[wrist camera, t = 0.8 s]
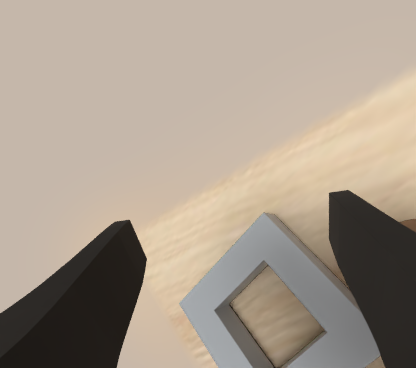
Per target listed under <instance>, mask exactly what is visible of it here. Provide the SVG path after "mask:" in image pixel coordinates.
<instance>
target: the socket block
mask: <svg viewBox="0 0 416 368" xmlns="http://www.w3.org/2000/svg"><path fill="white" fill-rule="evenodd" d="M267 265H269V266H270V267H271V268H272V270H273V271H274V272H275V273H276V274H277V275H278V277H279V278H280V279H281V280H282V281H283V282H284V283H285V285H286V286H287V287H288V288H289V289H290V290H291V291H292V293H293V294H294V295H295V296H296V297H297V298H298V300H299V301H300V302H301V303H302V304H303V305H304V306H305V308H306V309H307V310H308V311H309V312H310V313H311V314H312V316H313V317H314V318H315V319H316V320H317V321H318V323H319V324H320V325H321V326H322V327H323V328H324V329H325V331H323V332H322V333H321V334H320V335H319V336H317V337H316V338H315V339H314V340H313V341H312V342H310V343H309V344H308V345H307V346H306V347H305V348H303V349H302V350H301V351H300V352H299V353H297V354H296V355H295V356H294V357H293V358H292V359H290V360H289V361H288V362H287V363H286V364H285V365H283V366H282V367H281V368H365V367H366V366H367V365H369V364H370V363H371V362H373V361H374V360H375V359H377V358H378V357H379V356H380V352H379V350H378V347H377V344H376V342H375V340H374V338H373V335H372V333H371V331H370V329H369V327H368V325H367V323H366V321H365V319H364V317H363V315H362V313H361V311H360V309H359V307H358V305H357V303H356V301H355V299H354V297H353V295H352V293H351V291H350V290H349V289H348V288H347V287H346V286H345V285H344V284H343V283H342V282H341V281H340V280H339V279H338V278H337V277H336V276H335V275H334V274H333V273H332V272H331V271H330V270H329V269H328V268H327V267H326V266H325V265H324V264H323V263H322V262H321V261H320V260H319V259H318V258H317V257H316V256H315V255H314V254H313V253H312V252H311V251H310V250H309V249H308V248H307V247H306V246H305V245H304V244H303V243H302V242H301V241H300V240H299V239H298V238H297V237H296V236H295V235H294V234H293V233H292V232H291V231H290V230H289V229H288V228H287V227H286V226H285V225H284V224H283V223H282V222H281V221H280V220H279V219H278V218H277V217H276V216H275V215H273V214H269V213H263V214H262V215H261V216H260V217H259V218H258V219H257V220H256V221H255V222H254V223H253V224H252V225H251V227H250V228H249V229H248V230H247V231H246V232H245V233H244V234H243V235H242V236H241V237H240V238H239V239H238V241H237V242H236V243H235V244H234V245H233V246H232V247H231V248H230V249H229V250H228V251H227V252H226V253H225V255H224V256H223V257H222V258H221V259H220V260H219V261H218V262H217V263H216V264H215V265H214V266H213V267H212V269H211V270H210V271H209V272H208V273H207V274H206V275H205V276H204V277H203V278H202V279H201V280H200V281H199V283H198V284H197V285H196V286H195V287H194V288H193V289H192V290H191V291H190V292H189V293H188V294H187V296H186V297H185V298H184V299H183V300H182V301H181V302H180V303H179V304H180V306H181V308H182V309H183V311H184V312H185V314H186V316H187V317H188V319H189V321H190V322H191V324H192V325H193V327H194V329H195V330H196V332H197V334H198V335H199V337H200V338H201V340H202V342H203V343H204V345H205V347H206V348H207V350H208V351H209V353H210V355H211V356H212V358H213V360H214V361H215V363H216V364H217V366H218V368H274V367H273V366H272V364H271V363H270V361H269V360H268V359H267V357H266V356H265V354H264V353H263V352H262V350H261V349H260V347H259V346H258V345H257V343H256V342H255V340H254V339H253V338H252V336H251V335H250V333H249V332H248V331H247V329H246V328H245V327H244V325H243V324H242V322H241V321H240V320H239V318H238V317H237V315H236V314H235V313H234V311H233V310H232V308H231V307H230V306H229V303H230V302H231V301H232V300H233V299H234V298H235V297H236V296H237V295H238V294H239V293H240V292H241V291H242V290H243V289H244V288H245V287H246V286H247V285H248V284H249V283H250V282H251V281H252V280H253V279H254V278H255V277H256V276H257V275H258V274H259V273H260V272H261V271H262V270H263V269H264V268H265V267H266V266H267Z"/></svg>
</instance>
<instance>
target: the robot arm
mask: <svg viewBox="0 0 416 368" xmlns="http://www.w3.org/2000/svg"><path fill="white" fill-rule="evenodd" d="M329 240H330V243H331V246H332V249H333V252H334V255H335V258H336V261H337V263H338V266H339V268H340V270H341V272H342V274H343V276H344V278H345V280H346V282H347V284H348V286H349V289H350V291H351V293H352V295H353V297H354V299H355V301H356V303H357V305H358V307H359V309H360V311H361V313H362V315H363V317H364V319H365V321H366V323H367V325H368V327H369V329H370V331H371V333H372V335H373V338H374V340H375V342H376V344H377V347H378V350H379V352H380V355H381V357H382V360H383V362H384V365H385V368H416V232H415V231H413V230H411V229H409V228H408V227H406V226H404V225H403V224H401V223H399V222H398V221H396V220H394V219H393V218H391V217H389V216H388V215H386V214H385V213H383V212H382V211H380V210H378V209H377V208H375V207H374V206H372V205H371V204H369V203H368V202H366V201H365V200H363V199H362V198H360V197H358V196H357V195H355V194H354V193H352V192H351V191H349V190H346V191H339V192H331V193H329ZM146 261H147V258H146V256H145V254H144V251H143V249H142V247H141V244H140V242H139V240H138V238H137V235H136V233H135V231H134V228H133V226H132V224H131V222H130V220H125V221H117V222H114V223H113V224H111V225H110V226H109V227H108V228H106V229H105V230H104V231H103V232H102V233H101V234H99V235H98V236H97V237H96V238H95V239H94V240H93V241H91V242H90V243H89V244H88V245H87V246H86V247H85V248H83V249H82V250H81V251H80V252H79V253H78V254H77V255H76V256H74V257H73V258H72V259H71V260H70V261H69V262H67V263H66V264H65V265H64V266H62V267H61V268H60V269H59V270H58V271H56V272H55V273H54V274H53V275H52V276H50V277H49V278H48V279H47V280H46V281H44V282H43V283H42V284H41V285H39V286H38V287H37V288H35V289H34V290H33V291H31V292H30V293H29V294H27V295H26V296H25V297H23V298H22V299H20V300H19V301H18V302H16V303H15V304H14V305H12V306H11V307H9V308H8V309H6V310H5V311H3V312H2V313H0V368H117V363H118V359H119V355H120V352H121V348H122V345H123V342H124V339H125V336H126V333H127V329H128V326H129V324H130V320H131V318H132V314H133V311H134V308H135V305H136V302H137V299H138V296H139V293H140V290H141V287H142V283H143V278H144V273H145V267H146Z"/></svg>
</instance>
